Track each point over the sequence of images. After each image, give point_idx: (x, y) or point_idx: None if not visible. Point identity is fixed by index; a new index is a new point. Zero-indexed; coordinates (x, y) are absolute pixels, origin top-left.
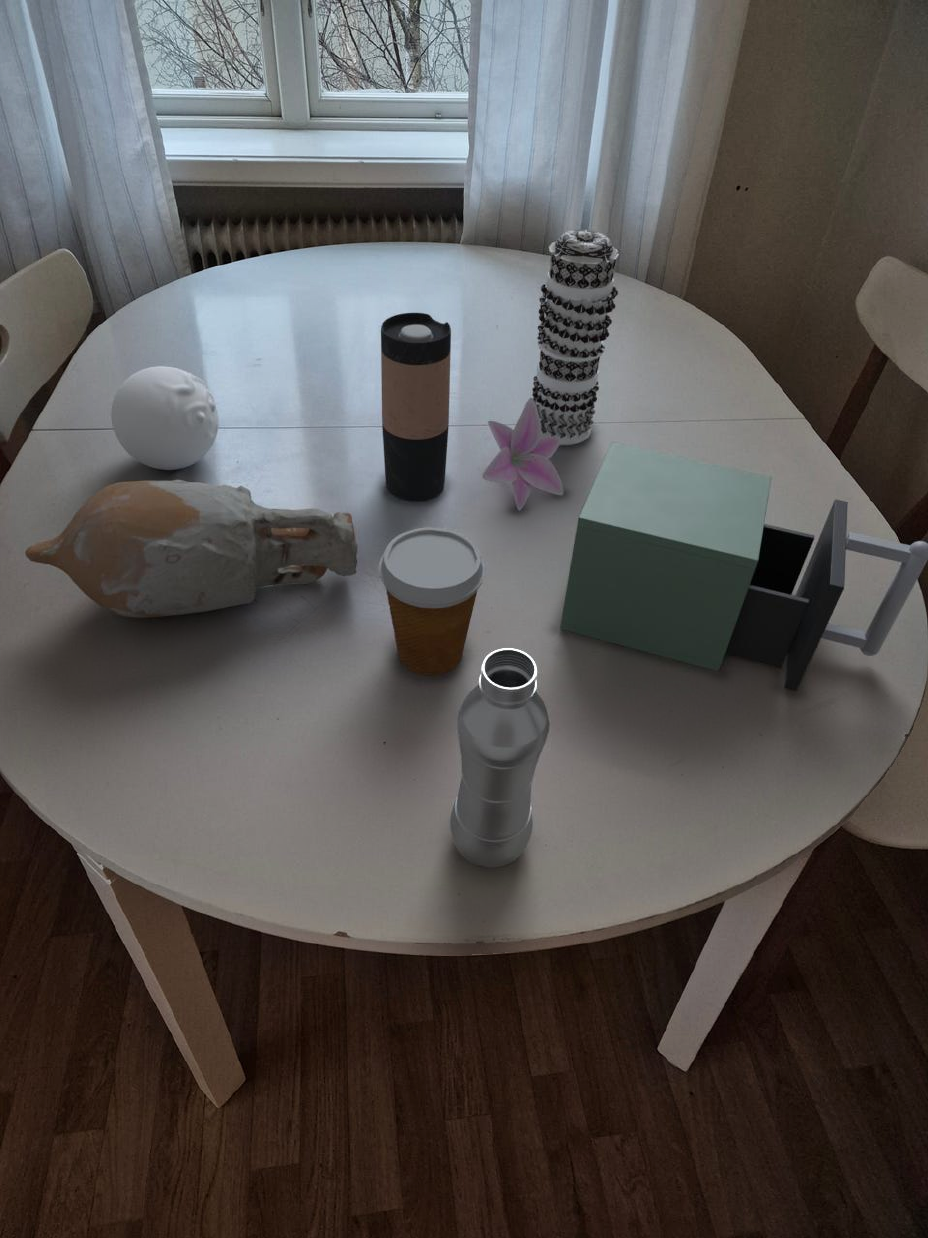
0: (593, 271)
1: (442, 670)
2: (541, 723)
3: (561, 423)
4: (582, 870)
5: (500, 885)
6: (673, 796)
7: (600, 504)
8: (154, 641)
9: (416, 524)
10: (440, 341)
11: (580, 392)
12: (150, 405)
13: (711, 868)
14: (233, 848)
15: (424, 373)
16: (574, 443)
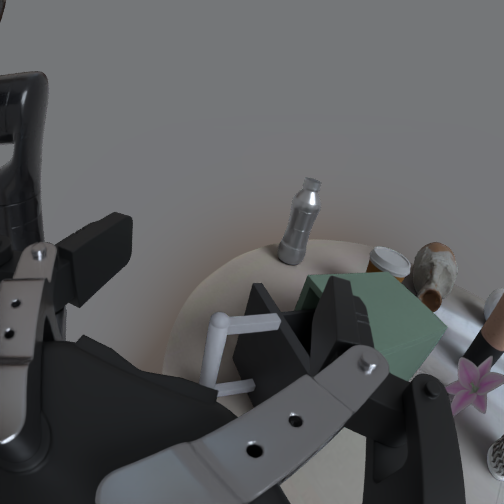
0: None
1: None
2: (297, 195)
3: (500, 439)
4: (259, 261)
5: (275, 253)
6: (251, 287)
7: (393, 281)
8: (409, 277)
9: (444, 351)
10: None
11: None
12: (498, 289)
13: (223, 271)
14: (331, 246)
15: (502, 298)
16: (487, 458)
